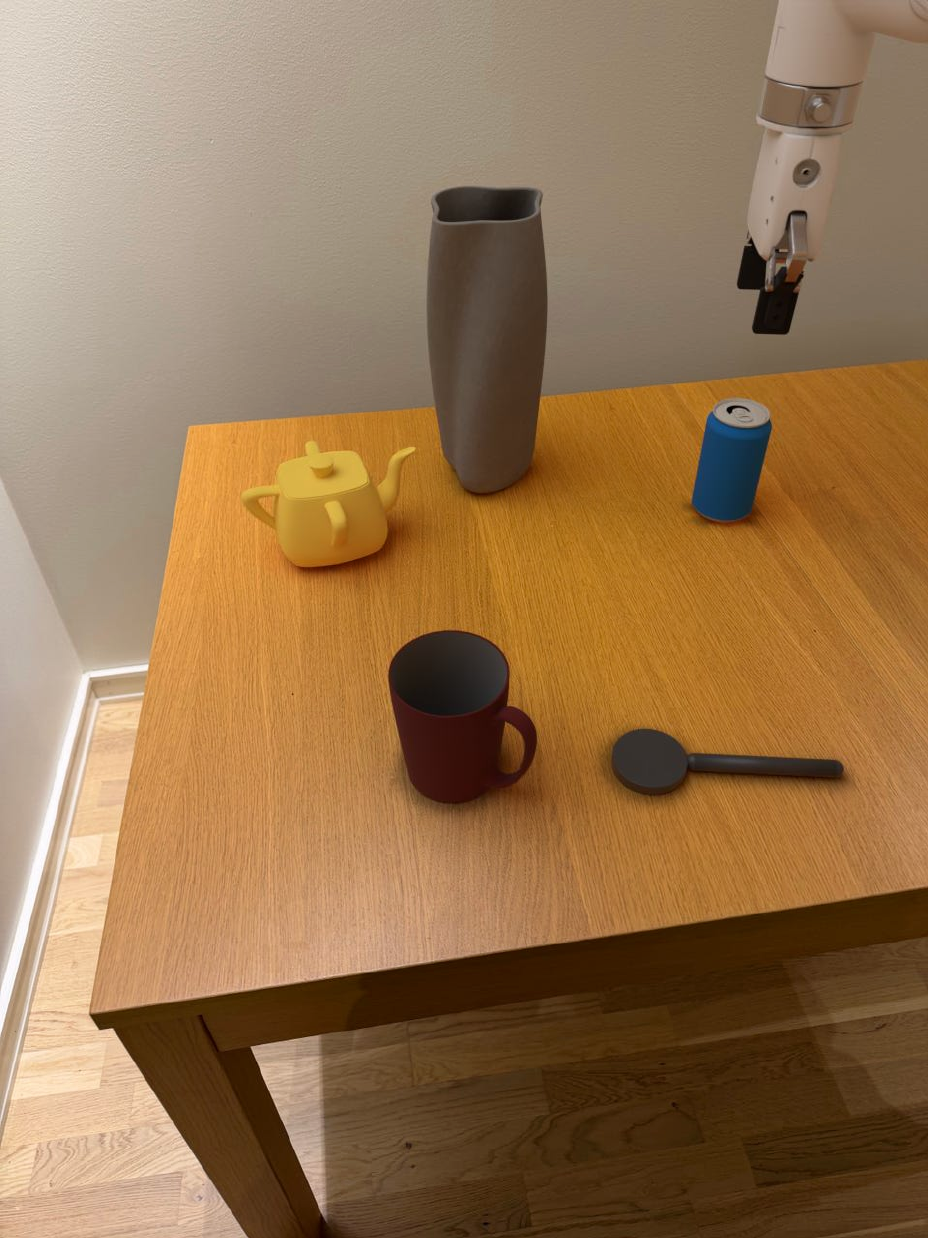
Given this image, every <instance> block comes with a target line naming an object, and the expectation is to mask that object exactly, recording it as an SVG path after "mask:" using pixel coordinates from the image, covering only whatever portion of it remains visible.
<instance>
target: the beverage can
mask: <svg viewBox="0 0 928 1238" xmlns="http://www.w3.org/2000/svg"><path fill="white" fill-rule="evenodd" d="M772 430H773V424H772V421H771V412H770V410H769V409H768V407H767V406H765V405H764V404H762V403H760V402H759V401H756V400H754V399H753V400H752V399H749V398H742V397H731V398H724V399H721V400H720V401H718V402H716V403H715V404H714V405H713V407H712V410H711V411H710V412H709V414H708V415H707V418H706V420H705V427H704V433H703V438H702V442H701V448H700V453H699V460H698V464H697V469H696V475H695V480H694V485H693V491H692V495H691V505H692V506H693V508H694V509H695V511H696V512H698V513H699V514H700V515H701V516H702V517H704V518H706V519H707V520H710V521H713V522H716V523H723V524H725V523H727V524H728V523H733V522H737V521H739V520H742V519H745V518H746V517H747V516H749V515H750V514H751V513H752V511H753V508H754V503H755V499H756V495H757V490H758V486H759V483H760V479H761V476H762V475H761V474H762V470H763V468H764V467H763V466H764V462H765V458H766V455H767V450H768V445H769V443H770V442H769V441H770V437H771V434H772Z"/></svg>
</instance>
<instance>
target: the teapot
mask: <svg viewBox="0 0 928 1238" xmlns="http://www.w3.org/2000/svg"><path fill="white" fill-rule="evenodd" d="M415 451H416V447H415V446H408V447H405V448H402V449H400V450H398V451H396V452H395V453H394V454H393V455H392V457H391V458H390V459H389V462H388V465H387V469H386V474H385V477H384V479H383V481H382V482H381V483H380V484H378V485H376V484H375V481H374V480H373V477H372V475H371V474H370V472H369V470H368V468H367V467H366V465H365V463H364V461H363V459H362V458H361V456H360V455H359V454H358V453H357V452H355V451H353V450H333V451H325V452H322V449H321V446H320V444H319V442H318V441H316V440H309V441H307V442H306V443H305V444H304V452H305V455H304V456H303V455H302V456H299V457H296V458H292V459H289V460H287V461H284V462H282V463H280V465H279V466H278V467H277V470H276V473H275V477H274V483H273V484H272V485H271V484H270V485H260V486H254V487H250V488H248V489H246V490H244V491H243V492H242V494H241V496H240V497H241V502H242V506H244V508H245V509H246V511H248V513H250V514H251V515H252V516H253V517H254V518H256V519H257V520H259V521H260V522H262V523H263V524H265V525H267V526H268V527H270V528H272V529H273V530H274V532H275V536H276V539H277V541H278V544H279V546H280V549H281V550H282V552H283V554H284V556H285V557H286V558H287V559H288V560H289V561H290V563H292V565H294V566H296V567H300V568H316V567H324V566H325V567H326V566H333V565H339V564H344V563H348V562H351V561H355V560H359V559H361V558H364V557H367V556H369V555H372V554H375V553H377V552H378V551H380V550H382V548H383V546H384V545H385V543H386V540H387V538H388V533H389V528H388V522H387V517H386V515H387V514H388V513H389V512H390V511H392V509H393V508H394V507H395V506H396V504H397V501H398V500H399V497H400V490H401V474H402V469H403V466H404V463H405V461H406V460H407V459H408V458H409V457H410V456H411V455H412V454H413V453H414V452H415ZM269 497H272V499H271V501H272V502H271V503H272V515H271V514H270V513H269V512H268V511H266V509H265V508H264V507H263V506H262V504H261V503H260V501H259V500H260V499H263V498H269Z"/></svg>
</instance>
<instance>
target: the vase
mask: <svg viewBox="0 0 928 1238" xmlns="http://www.w3.org/2000/svg"><path fill="white" fill-rule="evenodd" d="M543 193H544V192H542V190H541V189H539V188H536V187H532V186H531V187H530V186H505V187H496V186H495V187H494V186H482V185H461V186H453V187H449V188H445V189H442V190H439V191H437V192H436V193H434V194H433V195H432V196H431V198H430V204H431V208H432V213H433V214H432V217H431V218H432V220H431V228H430V237H429V247H428V261H427V275H426V276H427V277H426V333H427V348H428V359H429V361H428V363H429V369H430V378H431V384H432V393H433V400H434V407H435V413H436V420H437V425H438V432H439V439H440V445H441V451H442V454H443V456H444V459H445V460H446V462H447V463H448V464H449V466H450V467H451V468H452V469H453V470H454V471H455V472H456V475H457V479H458V480H459V482H460V485H461V486H462V487H463V488H464V489H466V490H467V491H469V492H472V493H476V494H490V493H495V492H498V491H501V490H504V489H506V488H508V487H510V486H512V485H513V484H515V483H516V482H517V481H518V480H520V479H521V478H522V477H523V476H524V475H525V473H526V472H527V471H528V469H529V467H530V466H531V463H532V461H533V458H534V455H535V448H536V439H537V430H538V421H539V420H538V419H539V411H540V404H541V394H542V386H543V378H544V377H543V376H544V367H545V358H546V348H547V347H546V345H547V333H548V330H547V329H548V308H549V307H548V305H549V304H548V303H549V302H548V301H549V300H548V299H549V298H548V275H547V274H548V273H547V259H546V250H545V241H544V240H545V239H544V232H543V231H544V229H543V222H542V209H541V207H542V202H543V197H544V194H543Z"/></svg>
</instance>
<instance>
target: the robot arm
mask: <svg viewBox="0 0 928 1238" xmlns="http://www.w3.org/2000/svg"><path fill="white" fill-rule="evenodd" d="M876 34H881V35H883V36H884V35H885V36H889V37H892V38H896V39H900V40H904V41H908V42H912V43H917V44H926V45H928V0H778V4H777V9H776V15H775V20H774V24H773V30H772V35H771V40H770V45H769V50H768V55H767V61H766V65H765V71H764V75H763V76H764V77H763V80H762V86H761V92H760V96H759V102H758V106H757V112H756V117H755V122H756V124H757V125H758V126H760V127H762V128H764V129H765V130H764V134H763V136H762V143H761V147H760V150H759V155H758V159H757V164H756V168H755V172H754V177H753V182H752V187H751V192H750V197H749V202H748V203H749V204H748V210H747V218H746V219H747V229H748V230H747V233H746V237H745V238H746V239H745V244H746V245H744V246H743V251H742V254H741V260H740V265H739V270H738V275H737V281H736V286H737V288H738V290H746V291H747V290H749V291H750V290H751V291H759V294H758V298H757V301H756V306H755V311H754V315H753V320H752V325H751V330H752V333H753V334H755V335H776V336H777V335H778V336H779V335H780V336H785V335H788V334H789V333H790V329H791V326H792V322H793V318H794V314H795V310H796V306H797V303H798V297H799V295H800V292H801V288H802V281H803V279H804V276H805V274H804V273H805V271H804V269H805V266H806V265H807V264H806V263H807V261H808V262H810V263H811V262H812V263H813V262H815V261H816V260H817V259H818V258H819V257H820V254H821V252H822V251H821V250H822V247H823V242H824V238H825V233H826V229H827V224H828V219H829V216H830V215H829V214H830V211H831V205H832V201H833V196H834V191H835V186H836V181H837V175H838V170H839V164H840V158H841V157H840V156H841V150H842V140H843V133H846V132H849V130H851V128H852V127H853V123H854V119H855V115H856V111H857V107H858V104H859V99H860V97H861V96H860V95H861V93H862V89H863V84H864V80H865V77H866V73H867V70H868V66H869V61H870V57H871V53H872V50H873V46H874V42H875V38H876ZM780 250H787V251H780ZM777 264H785V266H781V267H780V268H779V269H778V270H777ZM776 270H777V271H776Z"/></svg>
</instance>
